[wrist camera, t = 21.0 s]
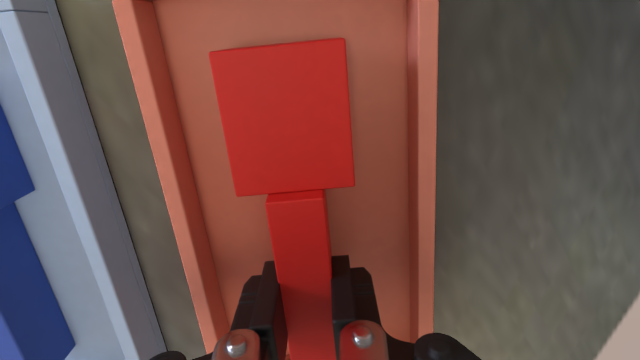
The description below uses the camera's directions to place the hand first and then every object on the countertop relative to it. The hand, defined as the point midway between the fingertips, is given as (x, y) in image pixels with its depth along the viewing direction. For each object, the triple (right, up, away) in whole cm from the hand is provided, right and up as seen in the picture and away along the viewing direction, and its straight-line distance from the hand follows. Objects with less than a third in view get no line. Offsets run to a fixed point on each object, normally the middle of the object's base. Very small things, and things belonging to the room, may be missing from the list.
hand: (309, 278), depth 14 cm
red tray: (0, +3, +1) cm, 3 cm away
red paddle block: (0, +3, 0) cm, 3 cm away
